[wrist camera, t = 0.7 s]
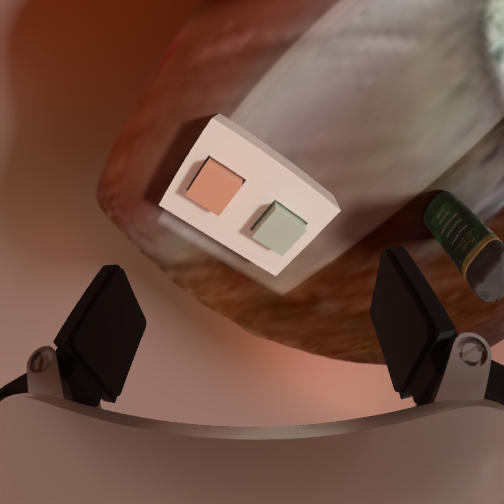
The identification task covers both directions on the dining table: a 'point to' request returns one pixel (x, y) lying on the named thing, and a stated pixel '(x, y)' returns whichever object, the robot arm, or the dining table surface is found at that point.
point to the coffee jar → (468, 245)
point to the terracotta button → (215, 186)
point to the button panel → (249, 193)
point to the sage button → (278, 228)
